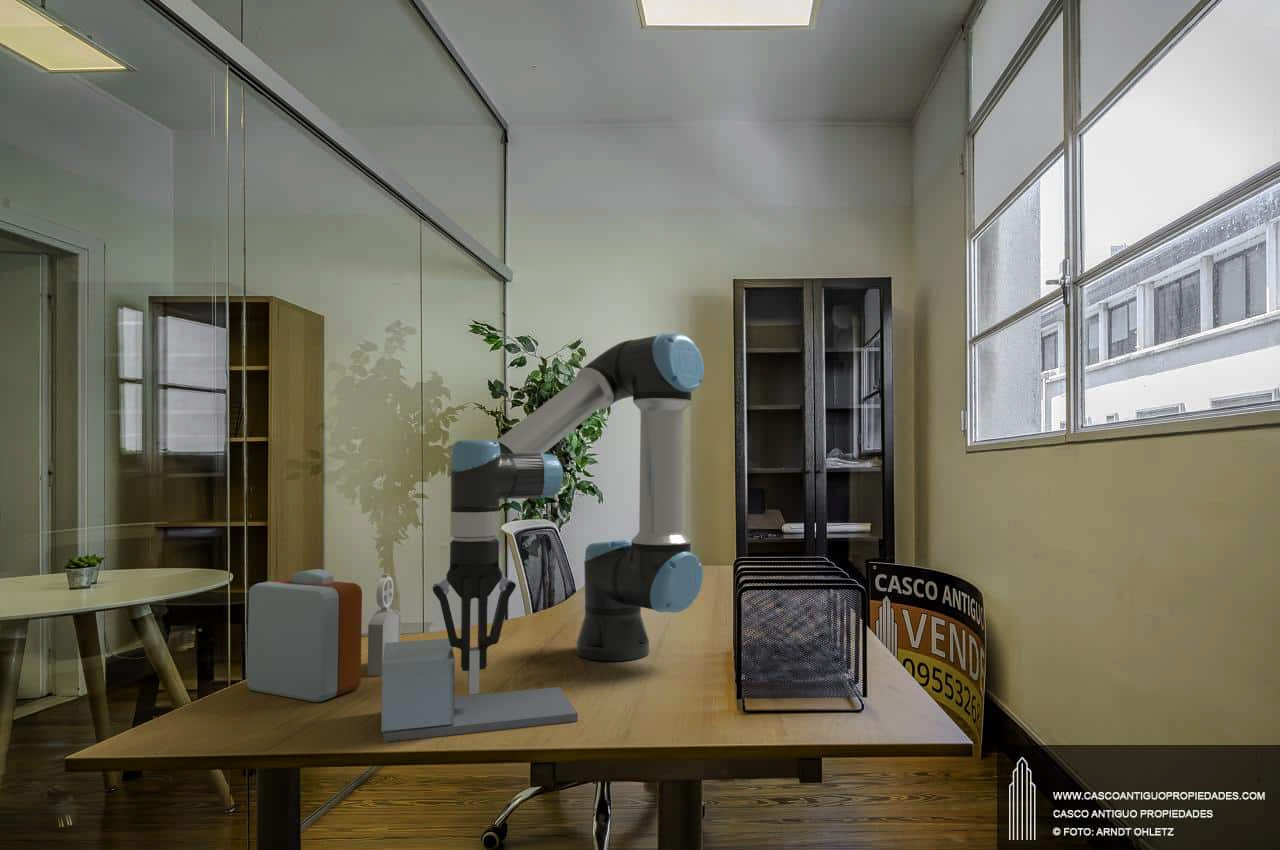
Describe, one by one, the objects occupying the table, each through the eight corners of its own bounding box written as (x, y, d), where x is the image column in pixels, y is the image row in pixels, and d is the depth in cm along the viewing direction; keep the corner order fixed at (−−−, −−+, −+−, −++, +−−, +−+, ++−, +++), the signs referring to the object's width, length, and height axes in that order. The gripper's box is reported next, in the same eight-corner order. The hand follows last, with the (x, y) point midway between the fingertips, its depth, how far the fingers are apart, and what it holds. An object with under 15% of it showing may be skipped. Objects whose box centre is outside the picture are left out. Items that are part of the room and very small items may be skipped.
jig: (559, 694, 126) (559, 663, 126) (577, 721, 113) (577, 686, 113) (386, 711, 118) (386, 677, 118) (383, 742, 104) (383, 704, 105)
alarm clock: (362, 690, 129) (364, 571, 130) (321, 705, 121) (323, 578, 122) (287, 677, 137) (289, 565, 138) (244, 690, 129) (247, 571, 130)
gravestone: (367, 675, 138) (369, 578, 139) (386, 662, 147) (387, 570, 148) (382, 675, 138) (383, 578, 138) (399, 662, 147) (400, 570, 148)
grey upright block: (449, 696, 120) (449, 638, 121) (454, 723, 108) (454, 658, 108) (384, 703, 117) (385, 642, 118) (381, 731, 105) (382, 664, 105)
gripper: (513, 534, 122) (512, 680, 121) (431, 537, 118) (429, 688, 117) (519, 539, 115) (518, 694, 114) (432, 542, 111) (430, 702, 110)
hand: (473, 690), depth 115 cm, fingers closed
